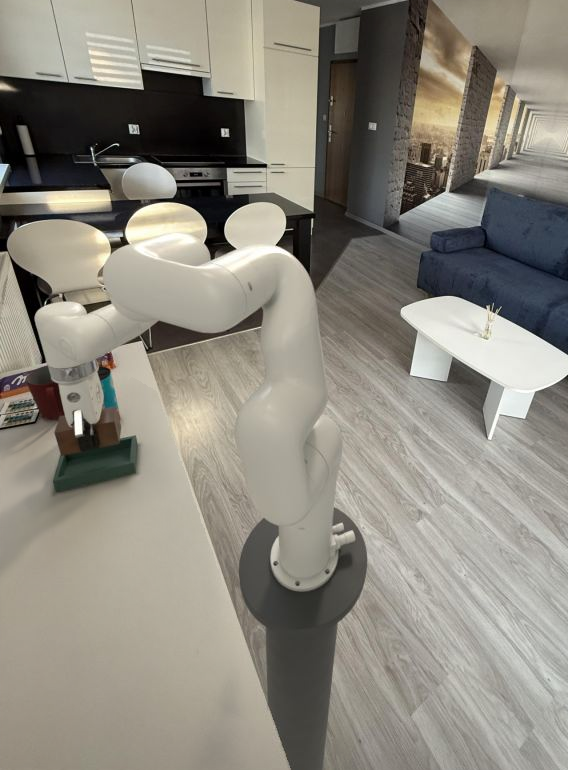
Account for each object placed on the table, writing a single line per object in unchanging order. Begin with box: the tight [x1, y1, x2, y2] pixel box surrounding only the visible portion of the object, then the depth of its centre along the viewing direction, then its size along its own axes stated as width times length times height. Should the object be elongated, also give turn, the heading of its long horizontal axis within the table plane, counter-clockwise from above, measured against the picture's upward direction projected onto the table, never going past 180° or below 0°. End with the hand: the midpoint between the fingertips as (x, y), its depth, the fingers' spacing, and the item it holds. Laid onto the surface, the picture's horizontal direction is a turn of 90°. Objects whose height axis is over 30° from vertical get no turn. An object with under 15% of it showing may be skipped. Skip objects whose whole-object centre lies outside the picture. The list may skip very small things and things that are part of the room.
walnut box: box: [53, 406, 122, 456], centre depth 81 cm, size 10×5×6 cm, turn 114°
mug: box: [25, 364, 65, 421], centre depth 97 cm, size 12×9×11 cm
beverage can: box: [97, 366, 121, 421], centre depth 94 cm, size 6×6×15 cm
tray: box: [51, 434, 139, 493], centre depth 85 cm, size 14×9×3 cm, turn 114°
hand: (92, 438), depth 82 cm, fingers closed on walnut box, 5 cm apart
